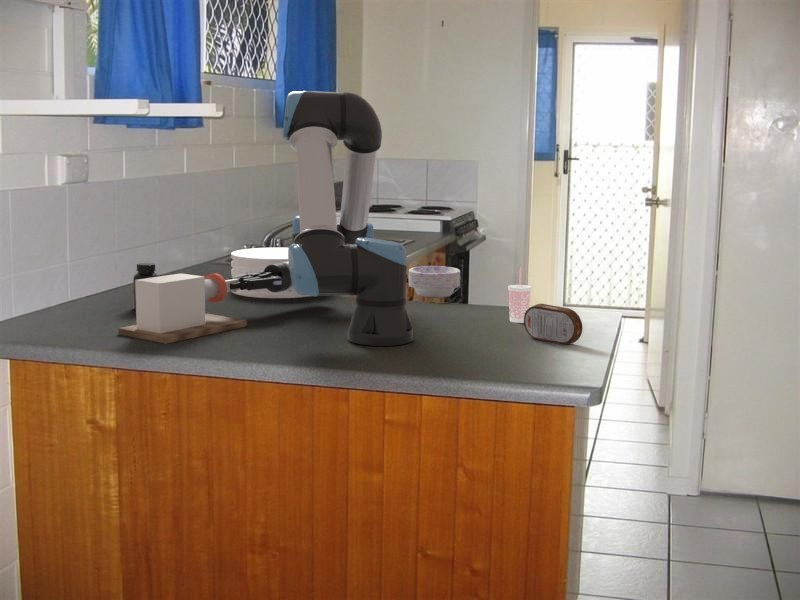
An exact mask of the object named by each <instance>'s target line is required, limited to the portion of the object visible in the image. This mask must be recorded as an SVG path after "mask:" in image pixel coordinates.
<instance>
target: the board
mask: <svg viewBox="0 0 800 600" xmlns="http://www.w3.org/2000/svg"><path fill="white" fill-rule="evenodd" d="M245 327H248V320H247V319H243V318H242V319H241V318H238V317H237V318H236V317H235V318H234V317H230V316H223V315H218V314H217V315H216V314H211V313H206V312H205V324H204V325H199V326H194V327H190V328H185V329H180V330H175V331H170V332H165V333H155V332H150V331H144V330H139V329H137V324H133V325H128V326H124V327H123V326H121V327H118V331H117V332H118V335H119V336H125V337H129V338H130V337H131V338H135V339H141V340H145V341H149V342H155V343H160V344H164V345H165V344H166V345H167V344H170V343H176V342H180V341H184V340H190V339H195V338H198V337H203V336H208V335H213V334H217V333H221V332H226V331H231V330H235V329H240V328H245Z"/></svg>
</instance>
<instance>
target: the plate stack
mask: <svg viewBox="0 0 800 600" xmlns="http://www.w3.org/2000/svg"><path fill="white" fill-rule="evenodd" d="M288 248H289V247H255V248H254V247H253V248H252V247H251V248H243V249H238V250H234V251H232V252H230V258H231V259H232V260H231V262H230V266H231V270H230V273H231V277H234V276H238V275H242V274H244V273H249V274H250V275H251V274H254V273H258V272H262V271H264V270H265V268H266V267H267V266H268V265H271V264H277V263H283V262H289V260H288ZM231 293H233V294H235V295H238V296H242V297H249V298H260V299H291V298H292V299H295V298H306V297H308V296H306V295H299V294H297V293H296V291H295V290H294V289H291V292H288V290H285V291H281V292H271V291H269V290H268V289H267V288H266V289H257V290H250V291H248V290H247V289H245V290H240V288H239V290H237V291H236V292H233V291H231Z"/></svg>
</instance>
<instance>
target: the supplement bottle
mask: <svg viewBox="0 0 800 600" xmlns="http://www.w3.org/2000/svg"><path fill="white" fill-rule="evenodd" d="M136 272H137V273H135V274H134V275H133V277H132V293H133V294H132V295H133V297H132V300H133V301H132V302H133V309H135V310H136V287H135V280H139V279H146V278H153V277H160V276H159V274H158V273H156V263H153V262H152V263H151V262H141V263H140V262H139V263H137V264H136Z"/></svg>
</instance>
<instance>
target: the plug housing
mask: <svg viewBox="0 0 800 600" xmlns="http://www.w3.org/2000/svg"><path fill="white" fill-rule="evenodd" d="M205 277H206V276H203V275H202V276H201V275H195V274H187V273H174V274H167V275H161V276H159V277H153V278H146V279H139V280H135V287H136V309H135V311H136V312H135V314H136V315H135V316H136V318H135V319H136V320H135V321H136V325H137V329H139V330H144V331H150V332H155V333H165V332H170V331H175V330H180V329H185V328H190V327H194V326H199V325H204V324H205V313H206V299H205Z"/></svg>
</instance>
